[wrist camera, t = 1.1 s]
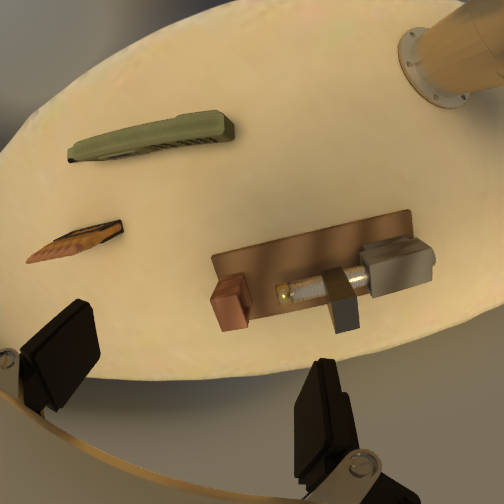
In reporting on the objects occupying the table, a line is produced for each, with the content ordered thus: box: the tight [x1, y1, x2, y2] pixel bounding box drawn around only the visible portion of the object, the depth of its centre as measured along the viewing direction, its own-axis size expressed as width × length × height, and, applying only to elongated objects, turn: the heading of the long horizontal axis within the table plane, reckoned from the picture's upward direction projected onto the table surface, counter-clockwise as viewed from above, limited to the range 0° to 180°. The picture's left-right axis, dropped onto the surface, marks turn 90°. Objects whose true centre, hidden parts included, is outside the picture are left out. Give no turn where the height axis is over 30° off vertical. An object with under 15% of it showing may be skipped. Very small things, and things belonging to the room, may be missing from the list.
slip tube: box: [275, 249, 436, 334], centre depth 27 cm, size 20×4×8 cm, turn 105°
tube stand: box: [210, 209, 432, 332], centre depth 31 cm, size 26×10×7 cm, turn 105°
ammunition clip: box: [26, 220, 124, 264], centre depth 30 cm, size 11×2×12 cm, turn 99°
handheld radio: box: [67, 110, 235, 163], centre depth 28 cm, size 7×3×25 cm
